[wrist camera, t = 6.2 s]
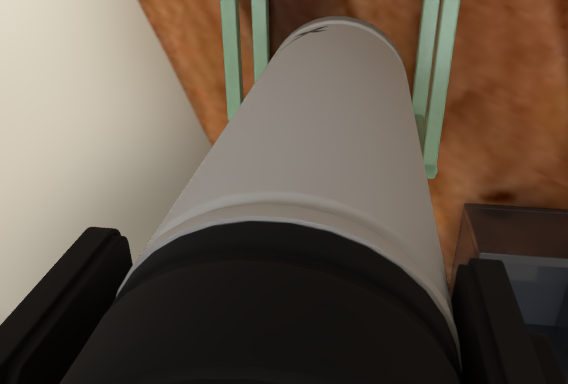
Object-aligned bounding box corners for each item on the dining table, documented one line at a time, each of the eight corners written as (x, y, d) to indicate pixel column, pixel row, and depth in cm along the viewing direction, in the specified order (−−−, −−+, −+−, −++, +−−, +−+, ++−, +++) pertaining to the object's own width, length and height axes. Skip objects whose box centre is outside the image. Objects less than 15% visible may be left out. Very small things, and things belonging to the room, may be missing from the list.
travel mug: (281, -7, 22) (-55, 309, 5) (428, 38, 22) (629, 519, 5) (249, 124, 25) (-22, 600, 8) (378, 163, 25) (389, 727, 8)
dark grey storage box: (464, 203, 39) (480, 252, 34) (596, 211, 38) (636, 264, 32) (443, 317, 45) (454, 377, 39) (558, 328, 43) (587, 391, 38)
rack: (251, -64, 33) (214, -57, 25) (446, -65, 31) (471, -57, 23) (258, 116, 38) (229, 167, 31) (422, 123, 37) (436, 179, 29)
